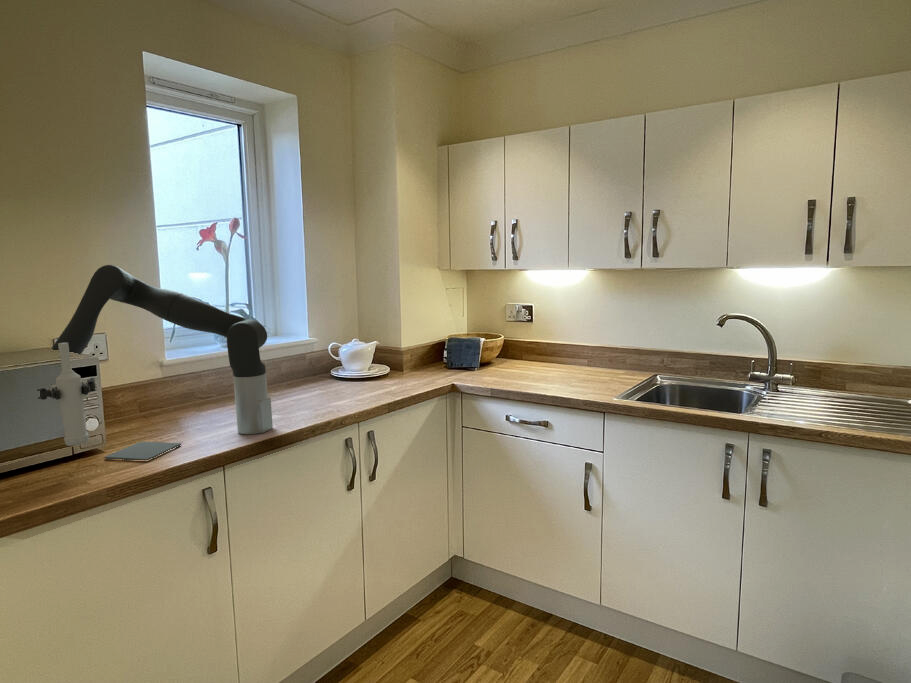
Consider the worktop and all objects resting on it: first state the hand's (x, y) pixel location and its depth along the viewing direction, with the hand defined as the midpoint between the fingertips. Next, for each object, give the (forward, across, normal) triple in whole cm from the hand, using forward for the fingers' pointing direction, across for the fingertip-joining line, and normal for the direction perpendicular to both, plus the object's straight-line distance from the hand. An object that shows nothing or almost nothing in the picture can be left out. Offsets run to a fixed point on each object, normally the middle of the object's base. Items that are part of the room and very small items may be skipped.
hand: (72, 392), depth 139 cm
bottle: (-3, 0, +13) cm, 13 cm away
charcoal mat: (-5, +15, +20) cm, 26 cm away
